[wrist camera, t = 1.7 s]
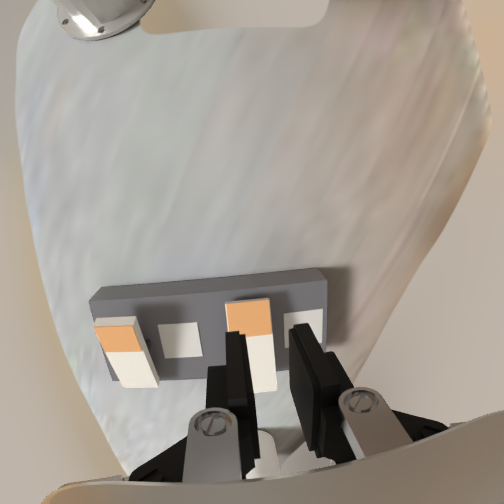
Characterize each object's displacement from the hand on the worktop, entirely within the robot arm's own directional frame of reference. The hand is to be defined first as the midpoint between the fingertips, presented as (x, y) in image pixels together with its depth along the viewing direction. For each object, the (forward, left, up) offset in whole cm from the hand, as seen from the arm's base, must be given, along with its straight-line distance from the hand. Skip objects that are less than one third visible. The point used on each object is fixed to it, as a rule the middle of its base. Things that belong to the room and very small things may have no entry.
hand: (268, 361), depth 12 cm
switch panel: (+9, -4, -22) cm, 24 cm away
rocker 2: (+9, 0, -16) cm, 18 cm away
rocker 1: (+9, -12, -16) cm, 22 cm away
